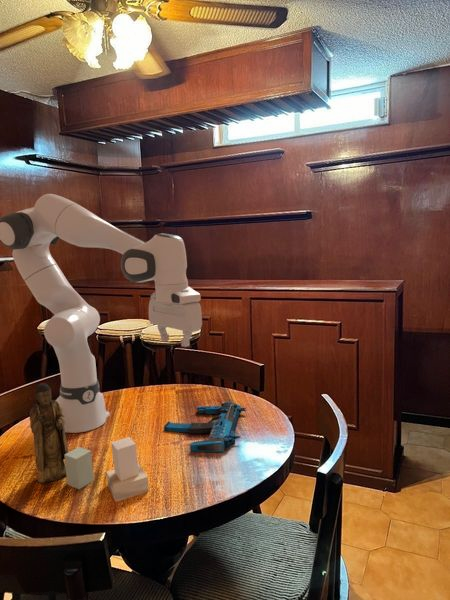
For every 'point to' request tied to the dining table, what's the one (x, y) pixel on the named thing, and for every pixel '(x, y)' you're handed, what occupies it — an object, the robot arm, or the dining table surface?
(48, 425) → the statue
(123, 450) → the cream pillar
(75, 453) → the sage pillar
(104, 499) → the dining table surface
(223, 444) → the submachine gun
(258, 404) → the dining table surface
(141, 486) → the birch slab
